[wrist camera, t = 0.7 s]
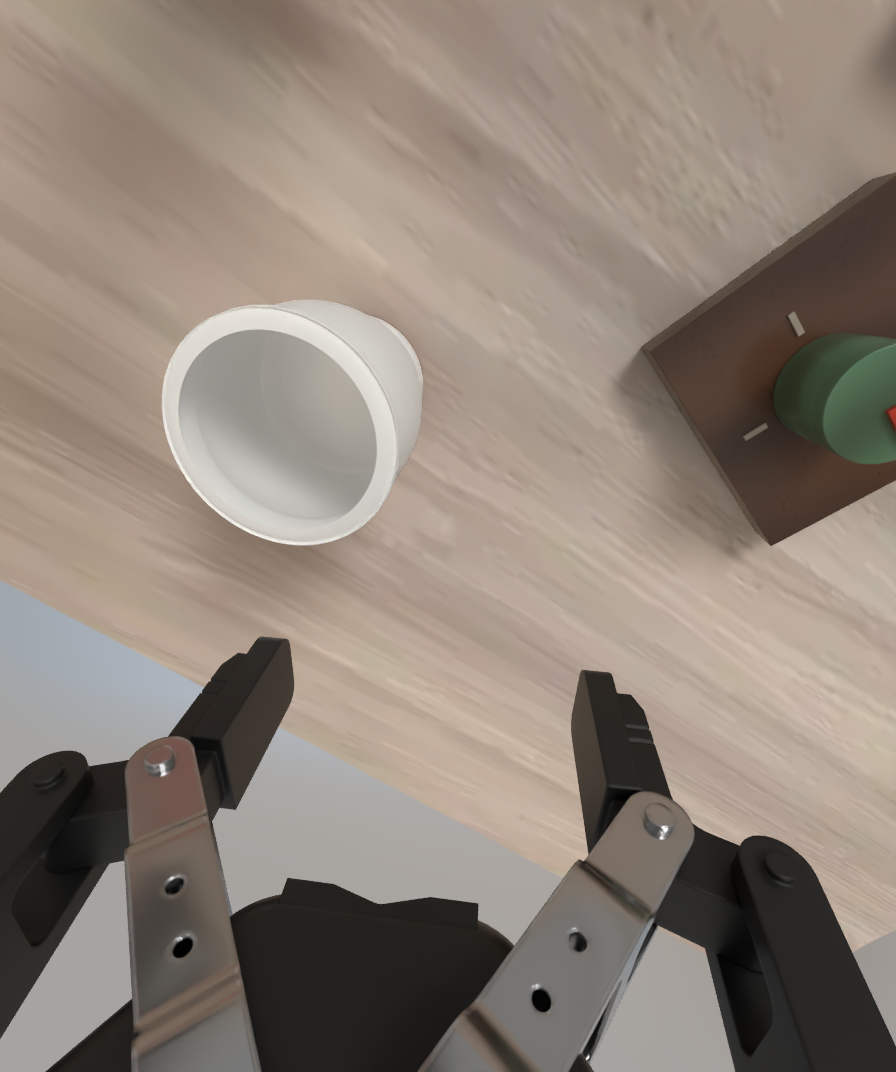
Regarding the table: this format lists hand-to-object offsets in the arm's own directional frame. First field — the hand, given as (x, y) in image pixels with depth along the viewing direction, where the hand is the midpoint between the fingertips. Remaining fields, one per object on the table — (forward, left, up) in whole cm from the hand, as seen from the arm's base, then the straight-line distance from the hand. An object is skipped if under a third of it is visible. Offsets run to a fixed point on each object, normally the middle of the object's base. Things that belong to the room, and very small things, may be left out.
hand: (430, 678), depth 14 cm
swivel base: (-8, +20, -25) cm, 33 cm away
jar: (-2, -8, -25) cm, 27 cm away
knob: (-8, +19, -22) cm, 31 cm away
